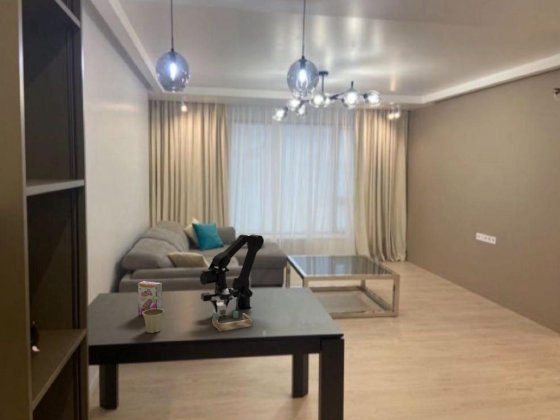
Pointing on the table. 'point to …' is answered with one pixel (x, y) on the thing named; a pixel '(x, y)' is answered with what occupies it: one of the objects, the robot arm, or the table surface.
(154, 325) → the flower pot
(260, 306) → the table surface
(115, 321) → the table surface
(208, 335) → the table surface
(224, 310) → the block
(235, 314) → the teal block pair
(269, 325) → the table surface
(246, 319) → the open wooden frame
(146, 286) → the candy bar box
